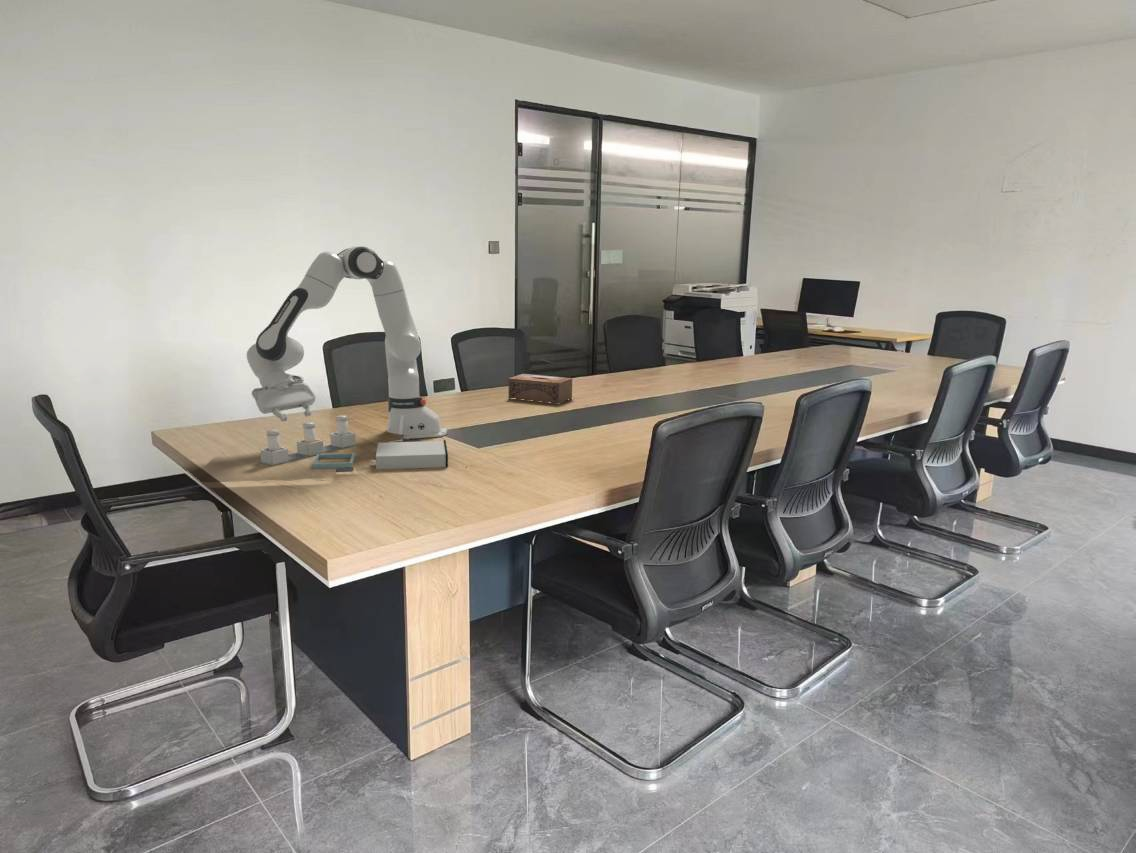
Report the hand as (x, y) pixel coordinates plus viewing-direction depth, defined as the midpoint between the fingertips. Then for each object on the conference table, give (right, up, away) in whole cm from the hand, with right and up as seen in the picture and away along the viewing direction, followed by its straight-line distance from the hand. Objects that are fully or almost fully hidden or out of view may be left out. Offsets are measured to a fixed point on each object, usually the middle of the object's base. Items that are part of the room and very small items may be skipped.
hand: (297, 417), depth 259 cm
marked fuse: (+5, -11, -1) cm, 13 cm away
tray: (+16, -16, -11) cm, 25 cm away
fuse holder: (+5, -13, 0) cm, 14 cm away
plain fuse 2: (+12, -9, +10) cm, 18 cm away
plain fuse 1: (-3, -14, -12) cm, 18 cm away
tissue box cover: (+77, +10, +104) cm, 129 cm away
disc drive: (+39, -15, -2) cm, 42 cm away
